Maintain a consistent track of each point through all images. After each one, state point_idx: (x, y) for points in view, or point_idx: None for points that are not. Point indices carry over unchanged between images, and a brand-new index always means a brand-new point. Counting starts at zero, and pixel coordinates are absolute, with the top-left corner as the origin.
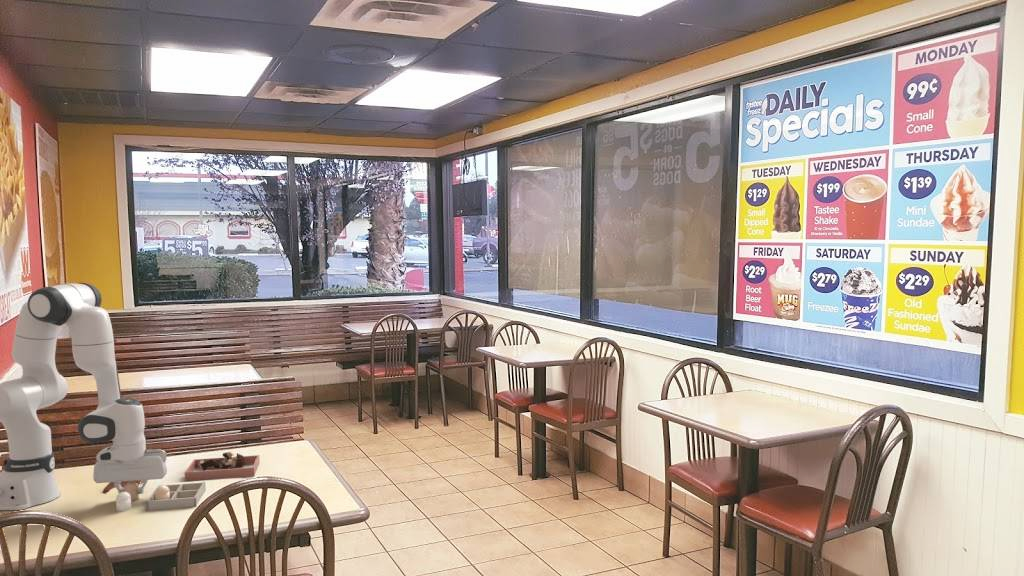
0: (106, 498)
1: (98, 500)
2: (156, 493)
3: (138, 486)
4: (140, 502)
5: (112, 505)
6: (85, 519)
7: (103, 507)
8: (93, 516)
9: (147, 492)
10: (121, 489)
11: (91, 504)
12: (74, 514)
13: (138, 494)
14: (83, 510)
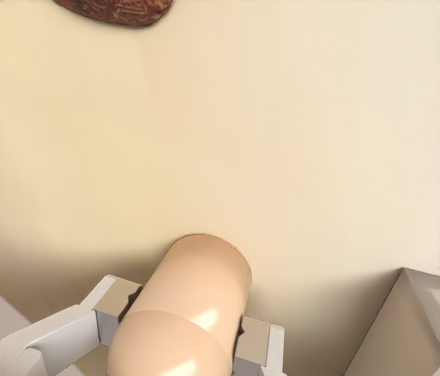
0: (33, 140)
1: (5, 159)
2: None
3: (228, 373)
4: (265, 310)
5: (118, 276)
6: (73, 363)
7: (84, 281)
8: (89, 353)
9: (307, 122)
10: (100, 334)
11: (5, 210)
12: (5, 297)
13: (242, 319)
14: (14, 272)
